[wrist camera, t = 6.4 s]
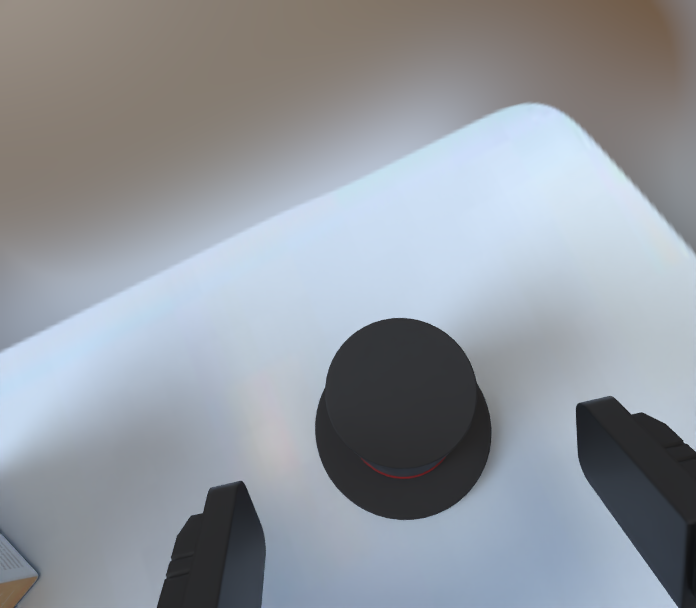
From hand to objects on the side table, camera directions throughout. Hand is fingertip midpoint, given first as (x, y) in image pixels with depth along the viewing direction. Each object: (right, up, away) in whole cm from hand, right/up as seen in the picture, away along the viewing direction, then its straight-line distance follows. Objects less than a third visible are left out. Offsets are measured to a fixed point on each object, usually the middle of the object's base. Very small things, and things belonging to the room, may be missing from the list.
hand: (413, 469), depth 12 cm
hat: (+1, -1, +9) cm, 9 cm away
